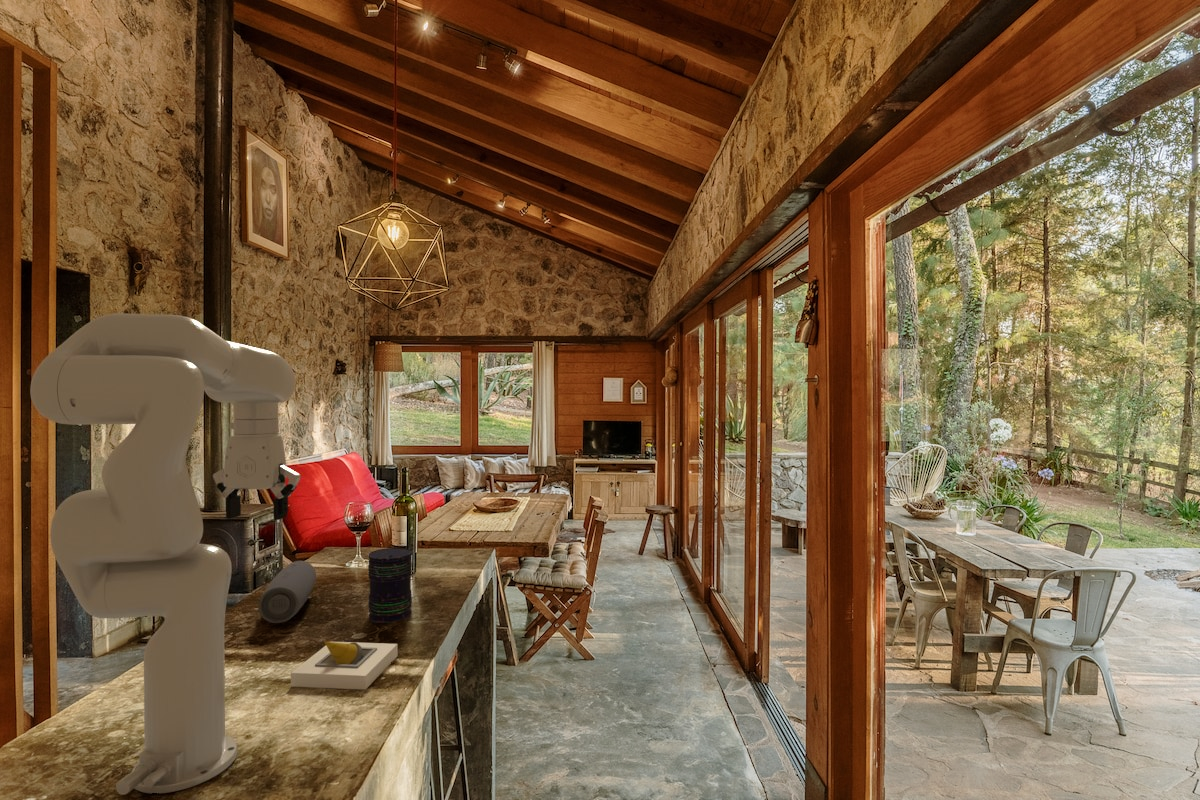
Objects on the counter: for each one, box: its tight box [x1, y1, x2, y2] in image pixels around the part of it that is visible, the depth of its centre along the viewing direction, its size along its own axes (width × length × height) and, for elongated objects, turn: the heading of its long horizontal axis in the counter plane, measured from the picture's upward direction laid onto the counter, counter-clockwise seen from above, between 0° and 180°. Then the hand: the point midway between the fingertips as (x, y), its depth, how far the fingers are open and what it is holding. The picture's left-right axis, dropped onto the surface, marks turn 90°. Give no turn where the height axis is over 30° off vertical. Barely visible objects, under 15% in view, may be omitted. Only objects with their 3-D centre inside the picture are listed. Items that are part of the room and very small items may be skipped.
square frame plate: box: [290, 641, 399, 691], centre depth 118 cm, size 14×14×3 cm
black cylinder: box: [367, 547, 413, 624], centre depth 147 cm, size 10×10×15 cm
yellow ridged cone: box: [324, 641, 364, 665], centre depth 118 cm, size 5×5×10 cm
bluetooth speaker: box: [258, 560, 317, 624], centre depth 150 cm, size 23×9×10 cm, turn 15°
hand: (256, 517), depth 118 cm, fingers open, 9 cm apart
